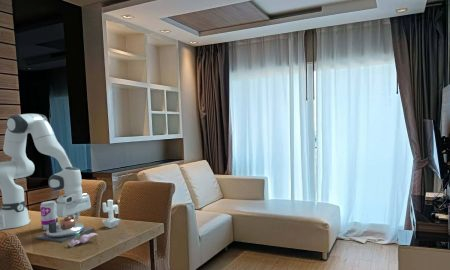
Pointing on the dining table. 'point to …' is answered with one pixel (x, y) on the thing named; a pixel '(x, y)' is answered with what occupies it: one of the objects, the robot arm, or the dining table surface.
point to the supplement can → (48, 214)
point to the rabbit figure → (82, 239)
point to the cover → (67, 223)
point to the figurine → (110, 214)
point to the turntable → (63, 230)
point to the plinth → (65, 238)
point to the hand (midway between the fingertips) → (75, 221)
